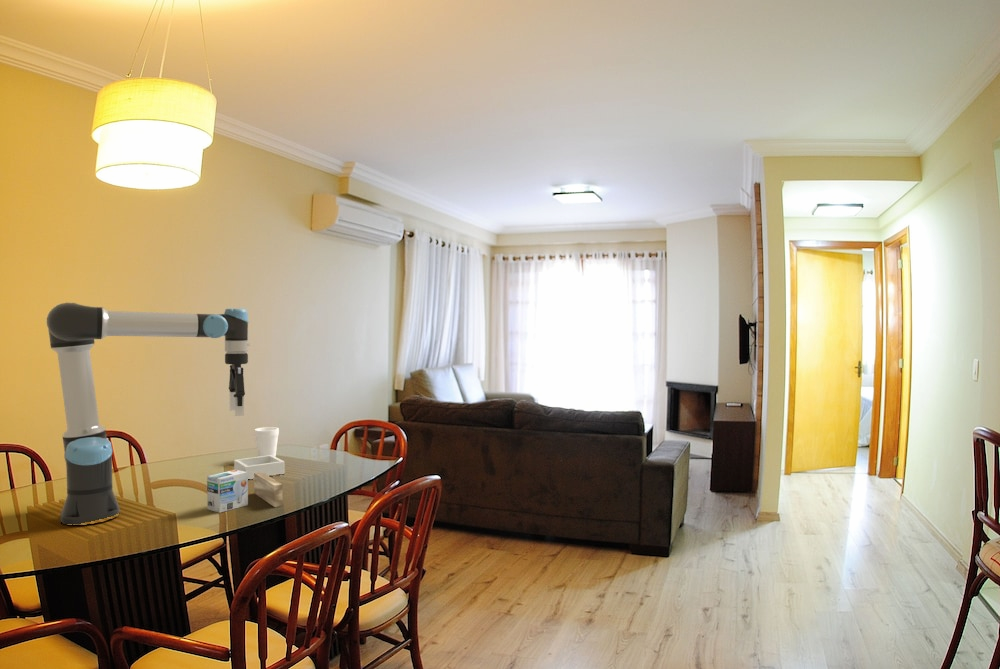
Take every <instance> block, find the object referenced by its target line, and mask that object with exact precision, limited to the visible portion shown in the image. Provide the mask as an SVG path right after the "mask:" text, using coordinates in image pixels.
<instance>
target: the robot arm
mask: <svg viewBox="0 0 1000 669" xmlns="http://www.w3.org/2000/svg"><path fill="white" fill-rule="evenodd" d="M248 314H249V313H248V311H247V309H245V308H225V310H224V312H223V313H220V314H219V313H218V314H215V313H181V312H179V313H178V312H177V313H176V312H175V313H174V312H153V311H152V312H151V311H148V312H147V311H124V310H123V311H118V310H116V311H115V310H107V309H105V308H104V307H101V306H100V307H98V306H89V305H84V304H80V303H79V304H78V303H76V302H63V303H60V304H57V305H56V306H53V308H51V310H50V311H49V312H48V314H47V318H46V326H47V330H48V337H49V344H50V349H51V350H53V351H54V352H55V353H57V358H58V359H57V360H58V369H59V375H60V383H61V389H62V397H63V407H64V413H65V421H66V428H67V429H66V430H65V432H64V433H63V434H62V441H63V449H64V450H63V451H64V461H65V466H66V467H65V468H66V497H65V501H64V504H63V507H62V509H61V512H60V523H61V522H62V523H63V524H72V525H73V524H81V523H85V522H91V521H95V520H99V519H104V518H107V517H111V516H114V515H116V514H118V513H119V512H121V510H120V505H119V502H118V500H117V498H116V495H115V493H114V491H113V456H112V455H113V447H112V442H111V441H110V440H109V439H108V438H107V437H108V436H107V431H106V428H105V427H104V426H102V425H101V424H100V420H99V419H100V418H99V411H98V404H97V396H96V388H95V380H94V372H93V365H92V357H91V356H92V355H91V348H93V347H94V346H95V343H96V342H95V340H103V339H104V338H106V337H153V338H154V337H155V338H156V337H157V338H158V337H163V338H165V337H167V338H171V337H172V338H173V337H174V338H175V337H176V338H178V337H179V338H211V339H219V338H221V337H224V352H225V354H224V364H226V365H230V366H229V380H228V381H229V383H228V390H229V411H234V417H240V416H241V417H242V416H244V414H245V411H244V410H245V407H244V406H245V403H244V402H245V400H244V399H245V395H246V391H245V380H244V368H243V367H242V365H246V364H248V363H249V354H248V353H247V352H248V350H249V349H248V348H249V346H250V343H249V340H248V339H249V336H248V335H249V333H248V332H249V316H248ZM63 524H62V525H63Z"/></svg>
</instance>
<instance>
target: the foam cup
mask: <svg viewBox="0 0 1000 669" xmlns="http://www.w3.org/2000/svg"><path fill="white" fill-rule="evenodd" d="M279 429H280V428H279V427H276V426H265V427H257V428H255V429H254V437H255V443H256V450H257V457H260V456H267V455H273V456H275V457H277V456H276V455H277V448H278V441H279V440H278V439H279V434H280V430H279Z"/></svg>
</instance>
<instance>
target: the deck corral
mask: <svg viewBox="0 0 1000 669" xmlns="http://www.w3.org/2000/svg"><path fill="white" fill-rule="evenodd" d="M233 464H234V465H233V470H239V471H243V472H248V479H253V478H254V473H258V472H262V473H264V474H266V475H268V476H269V475H276V474H284V473H285V474H286V465H285V464H286V462H285V461H284V460H283V459H280V458H278V457H277V456H276V457H275V456H273V455H267V456H260V457H258V456H254V457H246V458H239V459H233ZM253 480H254V479H253Z"/></svg>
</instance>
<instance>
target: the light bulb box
mask: <svg viewBox="0 0 1000 669" xmlns="http://www.w3.org/2000/svg"><path fill="white" fill-rule="evenodd" d="M248 481H249V480H248V472H243V471H239V470H234V469H232V470H228V471H224V472H219V473H215V474H211V475H207V477H206V490H207V491H206V492H207V496H206V497H207V498H206V500H207V502H206V504H207V506H206V507H207V510H208V511H212V512H215V513H219V514H221V513H224V512H228V511H231V510H235V509H238V508H243V507H245V506H246V507H247V506H248V505H249V491H248V490H249V482H248Z"/></svg>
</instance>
